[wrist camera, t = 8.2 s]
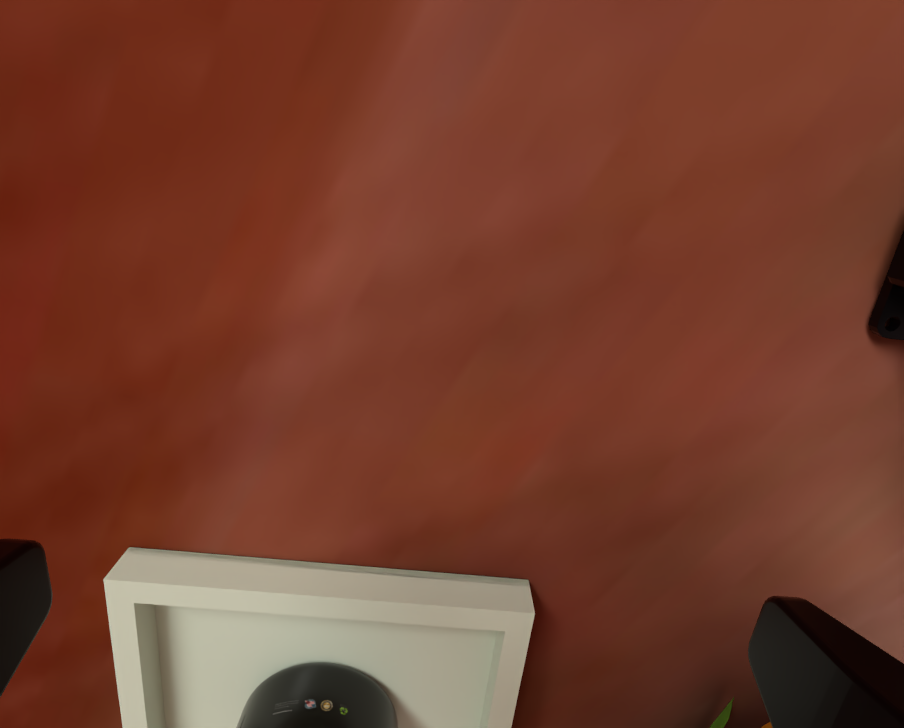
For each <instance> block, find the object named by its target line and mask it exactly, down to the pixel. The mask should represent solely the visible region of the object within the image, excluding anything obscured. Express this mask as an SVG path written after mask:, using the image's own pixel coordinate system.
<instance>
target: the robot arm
mask: <svg viewBox="0 0 904 728" xmlns="http://www.w3.org/2000/svg"><path fill="white" fill-rule="evenodd" d="M891 317H892V319H891V322H890V324H889V325H888V326H886V327H885V323H886V321H887V320H888V319H889V318H891ZM869 327H870V330H871V331H872V332H873V333H875V334H877V335H879V336H882V337H885V338H890V339H899V340H904V231H903V234H902V236H901V239H900V242H899V244H898V247H897V249H896V252H895V255H894V257H893V260H892V262H891V265H890V268H889V270H888V273H887V275H886V278H885V281H884V283H883V286H882V288H881V291H880V294H879V296H878V299H877V302H876V304H875V307H874V309H873V312H872V315H871V317H870V321H869ZM51 603H52V588H51V583H50V578H49V572H48V567H47V562H46V556H45V551H44V548H43V547H42V545H41V544H40V543H39V542H36V541H33V540H21V539H0V697H1V695H2V693H3V692H4V690H5V688H6V686H7V685H8V683H9V681H10V679H11V678H12V676H13V674H14V673H15V671H16V669H17V667H18V666H19V664H20V662H21V660H22V659H23V657H24V655H25V654H26V652H27V650H28V648H29V647H30V645H31V643H32V641H33V640H34V638H35V636H36V634H37V633H38V631H39V629H40V628H41V626H42V624H43V622H44V621H45V619H46V617H47V615H48V613H49V610H50V608H51ZM748 656H749V662H750V666H751V669H752V672H753V674H754V677H755V680H756V683H757V686H758V688H759V691H760V694H761V697H762V700H763V702H764V705H765V708H766V711H767V714H768V716H769V719H770V722H771V725H772V728H904V664H903V663H902V662H900V661H899V660H897V659H896V658H894V657H892V656H891V655H889V654H888V653H886V652H885V651H883V650H882V649H880V648H879V647H877V646H876V645H874V644H873V643H871V642H870V641H868V640H867V639H865V638H864V637H862V636H861V635H859V634H857V633H856V632H854V631H853V630H851V629H850V628H848V627H847V626H845V625H844V624H842V623H841V622H839V621H838V620H836V619H835V618H833V617H832V616H830V615H829V614H827V613H826V612H824V611H822V610H821V609H819V608H818V607H816V606H815V605H813V604H812V603H810V602H809V601H807V600H805V599H802V598H797V597H783V596H772V597H769V598H768V599H767V600H766V601H765V602H764V604H763V607H762V609H761V612H760V615H759V617H758V620H757V623H756V626H755V628H754V631H753V634H752V636H751V639H750V642H749V648H748Z"/></svg>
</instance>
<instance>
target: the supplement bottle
mask: <svg viewBox="0 0 904 728" xmlns="http://www.w3.org/2000/svg"><path fill="white" fill-rule="evenodd" d="M236 728H398V720H397V715H396V711H395V708H394V705H393V703H392V701H391V700H390V698H389V696H388V695H387V693H386V692H385V691H384V690H383V689H382V687H381V686H380V685H379V684H378V683H376V682H375V681H374V680H373V679H371V678H370V677H368V676H367V675H365V674H363V673H361V672H360V671H357V670H355V669H353V668H350V667H347V666H343V665H339V664H334V663H325V662H314V663H304V664H299V665H294V666H291V667H288V668H285V669H283V670H280V671H278V672H276V673H275V674H273V675H271V676H270V677H268V678H267V679H266V680H264V681H263V682H262V683H261V684H260V685H259V686H258V687H257V688H256V689H255V690H254V691H253V692H252V694H251V695H250V697H249V698H248V700H247V702H246V704H245V707H244V709H243V711H242V714H241V716H240V719H239V722H238V725H237V727H236Z"/></svg>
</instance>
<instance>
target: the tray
mask: <svg viewBox="0 0 904 728" xmlns="http://www.w3.org/2000/svg"><path fill="white" fill-rule="evenodd" d="M103 580H104V588H105V595H106V603H107V611H108V618H109V626H110V634H111V641H112V649H113V657H114V665H115V672H116V680H117V688H118V695H119V703H120V711H121V718H122V726H123V728H236V727H237V725H238V722H239V719H240V716H241V714H242V711H243V709H244V707H245V704H246V702H247V700H248V698H249V697H250V695H251V694H252V692H253V691H254V690H255V689H256V688H257V687H258V686H259V685H260V684H261V683H262V682H263V681H264V680H266V679H267V678H268V677H270V676H271V675H273V674H275V673H276V672H278V671H280V670H283V669H285V668H288V667H291V666H294V665H299V664H304V663H314V662H325V663H334V664H339V665H343V666H347V667H350V668H353V669H355V670H357V671H360V672H361V673H363V674H365V675H367V676H368V677H370V678H371V679H373V680H374V681H375V682H376V683H378V684H379V685H380V686H381V687H382V689H383V690H384V691H385V692H386V693H387V695H388V696H389V698H390V700H391V701H392V703H393V705H394V708H395V711H396V715H397V720H398V728H511V726H512V722H513V717H514V712H515V707H516V702H517V698H518V693H519V688H520V683H521V678H522V674H523V669H524V664H525V659H526V654H527V650H528V645H529V640H530V635H531V630H532V625H533V621H534V616H535V611H534V606H533V601H532V595H531V590H530V585H529V580H524V579H512V578H500V577H488V576H475V575H463V574H451V573H439V572H427V571H414V570H402V569H390V568H378V567H366V566H353V565H341V564H329V563H317V562H304V561H292V560H280V559H268V558H256V557H243V556H231V555H219V554H207V553H195V552H182V551H170V550H158V549H146V548H133V547H129V548H128V549H127V551H126V552H125V553H124V554H123V556H122V557H121V558H120V559H119V561H118V562H117V563H116V564H115V566H114V567H113V568H112V569H111V571H110V572H109V573H108V574H107V576H106V577H105V578H104V579H103Z"/></svg>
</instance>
